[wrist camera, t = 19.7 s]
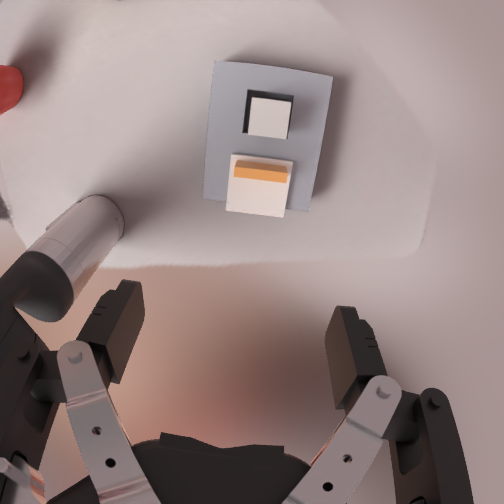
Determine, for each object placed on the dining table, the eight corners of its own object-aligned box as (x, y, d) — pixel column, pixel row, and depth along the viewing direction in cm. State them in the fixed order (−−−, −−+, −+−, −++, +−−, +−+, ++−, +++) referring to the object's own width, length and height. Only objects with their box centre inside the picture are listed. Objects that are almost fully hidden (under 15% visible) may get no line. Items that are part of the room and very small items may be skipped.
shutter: (226, 208, 40) (223, 220, 37) (231, 153, 36) (228, 160, 33) (283, 215, 40) (284, 228, 37) (292, 161, 36) (295, 169, 33)
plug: (250, 125, 38) (247, 134, 31) (254, 95, 36) (251, 97, 29) (281, 128, 38) (286, 139, 31) (285, 99, 36) (291, 102, 29)
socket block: (207, 188, 43) (202, 198, 40) (219, 62, 34) (214, 60, 30) (304, 200, 44) (308, 211, 40) (326, 77, 34) (333, 76, 31)
